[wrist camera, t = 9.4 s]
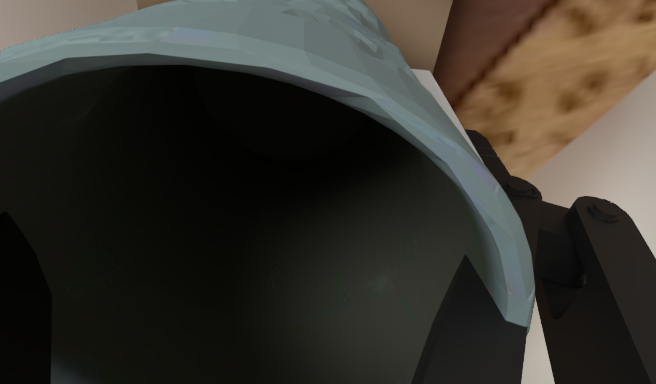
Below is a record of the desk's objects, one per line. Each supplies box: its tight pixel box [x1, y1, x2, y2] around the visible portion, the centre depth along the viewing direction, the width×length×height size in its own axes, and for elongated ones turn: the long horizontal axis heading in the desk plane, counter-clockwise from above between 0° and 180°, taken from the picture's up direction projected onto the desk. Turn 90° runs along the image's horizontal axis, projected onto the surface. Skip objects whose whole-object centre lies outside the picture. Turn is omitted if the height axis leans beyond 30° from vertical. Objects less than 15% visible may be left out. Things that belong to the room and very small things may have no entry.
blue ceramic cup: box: [0, 0, 535, 384], centre depth 11 cm, size 10×10×12 cm
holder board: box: [137, 0, 453, 74], centre depth 18 cm, size 16×14×4 cm
